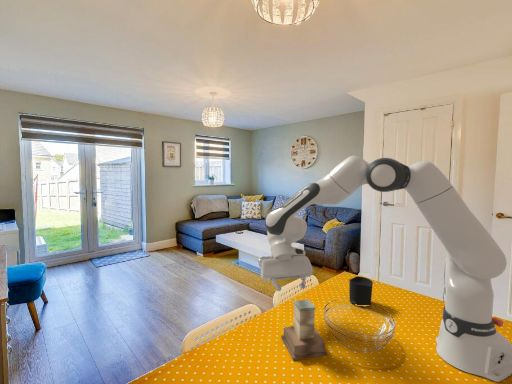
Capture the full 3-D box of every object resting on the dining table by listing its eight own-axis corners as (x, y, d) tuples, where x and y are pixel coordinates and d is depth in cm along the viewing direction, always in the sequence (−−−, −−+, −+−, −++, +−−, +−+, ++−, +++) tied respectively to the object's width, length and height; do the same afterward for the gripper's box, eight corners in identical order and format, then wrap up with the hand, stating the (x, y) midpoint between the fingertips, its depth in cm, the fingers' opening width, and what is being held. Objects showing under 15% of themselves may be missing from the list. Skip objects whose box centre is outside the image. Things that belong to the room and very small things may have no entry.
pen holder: (346, 297, 120) (347, 275, 120) (367, 298, 120) (368, 276, 119) (351, 307, 111) (352, 284, 110) (374, 308, 110) (375, 285, 110)
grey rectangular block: (307, 328, 89) (308, 299, 88) (314, 337, 84) (315, 307, 83) (293, 330, 88) (293, 300, 87) (299, 340, 83) (299, 308, 82)
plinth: (311, 333, 93) (311, 322, 92) (327, 355, 82) (327, 342, 81) (281, 337, 90) (281, 326, 90) (293, 360, 79) (293, 347, 79)
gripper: (259, 253, 101) (265, 288, 92) (308, 249, 106) (319, 283, 97) (256, 260, 106) (262, 295, 97) (304, 257, 110) (313, 290, 102)
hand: (291, 289), depth 97 cm, fingers open, 8 cm apart
